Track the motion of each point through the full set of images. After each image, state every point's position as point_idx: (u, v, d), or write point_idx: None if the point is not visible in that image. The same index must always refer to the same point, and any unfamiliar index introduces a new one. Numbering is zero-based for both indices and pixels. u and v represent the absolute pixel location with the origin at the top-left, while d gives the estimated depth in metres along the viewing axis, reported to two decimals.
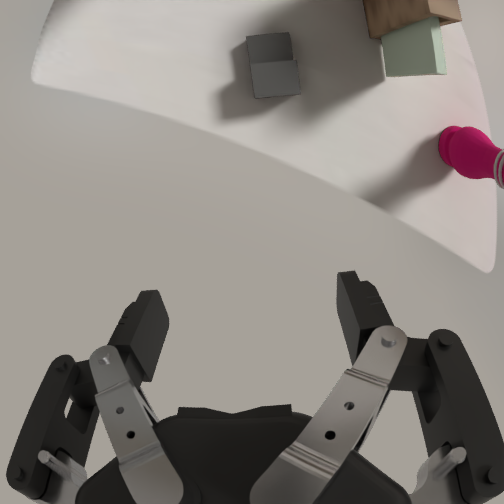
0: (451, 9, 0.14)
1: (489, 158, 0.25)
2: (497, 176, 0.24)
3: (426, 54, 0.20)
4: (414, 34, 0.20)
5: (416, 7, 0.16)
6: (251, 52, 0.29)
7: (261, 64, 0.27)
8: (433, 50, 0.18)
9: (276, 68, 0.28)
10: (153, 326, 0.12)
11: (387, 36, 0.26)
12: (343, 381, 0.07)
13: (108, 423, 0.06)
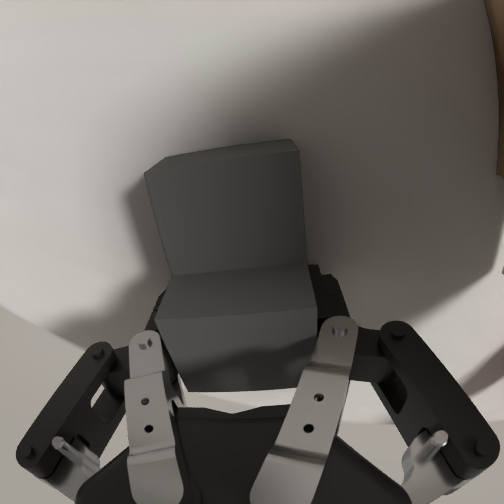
0: None
1: None
2: None
3: None
4: None
5: None
6: (167, 231, 0.10)
7: (191, 322, 0.09)
8: None
9: (244, 334, 0.09)
10: None
11: None
12: (306, 375, 0.07)
13: (130, 412, 0.07)
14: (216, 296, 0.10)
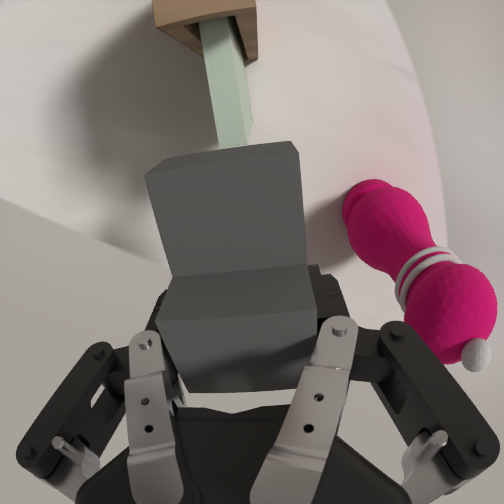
0: None
1: (396, 261, 0.18)
2: (399, 300, 0.17)
3: None
4: None
5: None
6: (168, 233, 0.10)
7: (192, 323, 0.09)
8: (211, 98, 0.12)
9: (244, 336, 0.09)
10: None
11: None
12: (306, 375, 0.07)
13: (130, 412, 0.07)
14: (216, 298, 0.10)
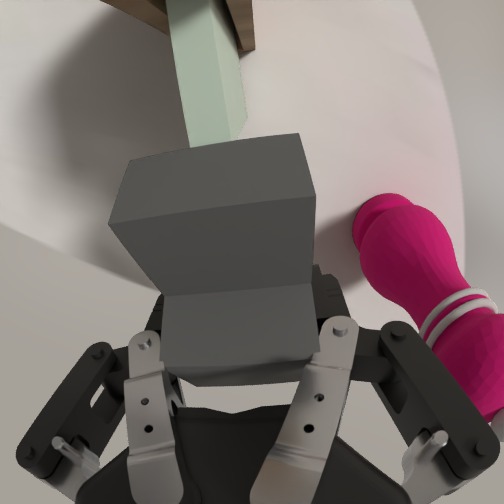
0: None
1: (420, 301, 0.14)
2: None
3: None
4: None
5: None
6: (152, 269, 0.09)
7: (196, 367, 0.09)
8: (179, 81, 0.07)
9: (248, 370, 0.09)
10: None
11: None
12: (307, 375, 0.07)
13: (130, 412, 0.07)
14: (217, 335, 0.09)
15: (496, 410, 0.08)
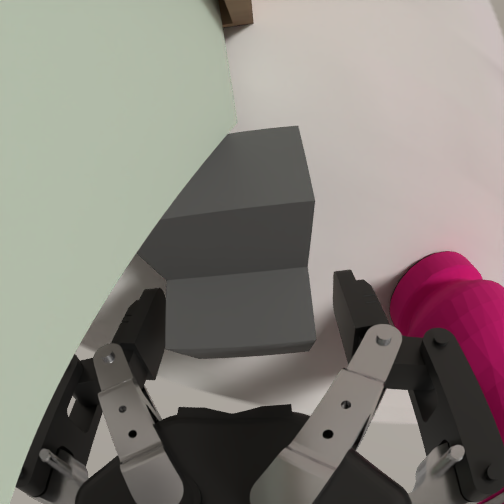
0: None
1: None
2: None
3: None
4: None
5: None
6: (154, 260, 0.09)
7: (200, 349, 0.10)
8: None
9: (248, 349, 0.10)
10: (157, 324, 0.12)
11: None
12: (339, 380, 0.07)
13: (110, 422, 0.06)
14: (219, 318, 0.10)
15: None
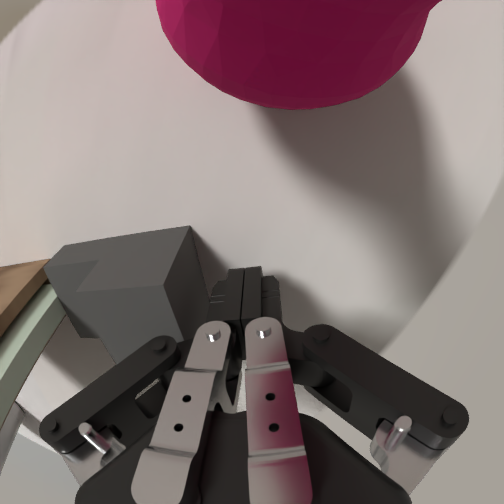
0: None
1: None
2: None
3: None
4: None
5: None
6: None
7: (114, 356, 0.12)
8: None
9: (112, 333, 0.11)
10: None
11: None
12: (250, 380, 0.07)
13: (168, 404, 0.07)
14: None
15: None
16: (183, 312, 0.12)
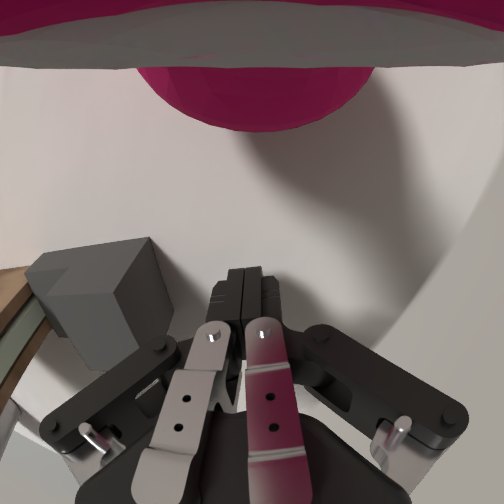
0: None
1: None
2: None
3: None
4: None
5: None
6: None
7: (82, 354, 0.13)
8: None
9: (77, 333, 0.12)
10: None
11: None
12: (250, 380, 0.07)
13: (167, 404, 0.07)
14: None
15: None
16: (137, 316, 0.13)
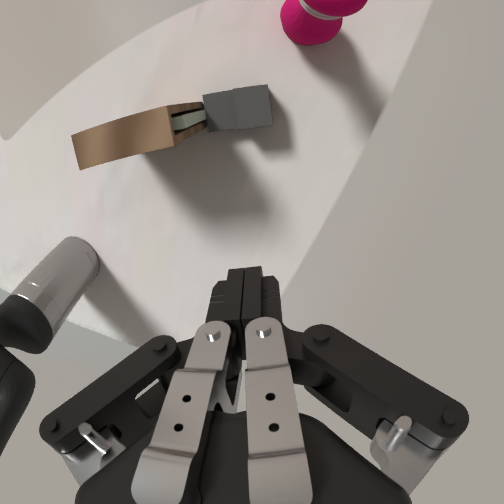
0: (158, 119, 0.22)
1: (317, 17, 0.21)
2: (338, 16, 0.20)
3: None
4: None
5: None
6: (225, 127, 0.35)
7: (238, 119, 0.32)
8: None
9: (242, 106, 0.32)
10: None
11: None
12: (250, 380, 0.07)
13: (167, 404, 0.07)
14: None
15: None
16: None
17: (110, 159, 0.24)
